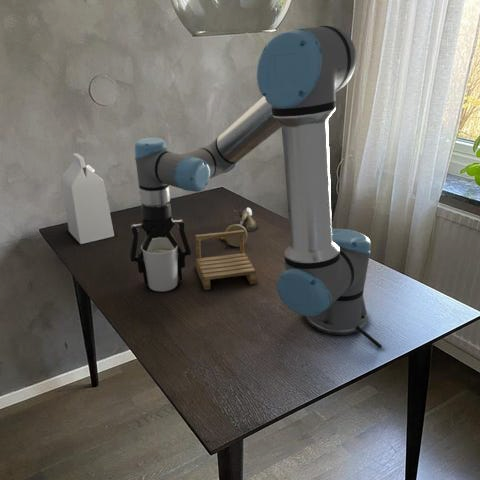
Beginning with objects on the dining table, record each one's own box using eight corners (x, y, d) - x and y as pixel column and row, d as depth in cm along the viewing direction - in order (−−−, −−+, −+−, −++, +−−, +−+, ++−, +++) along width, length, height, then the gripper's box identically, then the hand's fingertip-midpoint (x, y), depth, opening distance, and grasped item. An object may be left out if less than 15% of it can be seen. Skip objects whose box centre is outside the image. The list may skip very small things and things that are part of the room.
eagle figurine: (227, 220, 178) (237, 225, 170) (236, 201, 177) (246, 205, 169) (245, 229, 182) (255, 234, 174) (254, 210, 181) (264, 215, 173)
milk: (68, 231, 172) (53, 153, 158) (101, 224, 178) (89, 148, 163) (80, 244, 164) (65, 163, 150) (114, 236, 169) (103, 157, 155)
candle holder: (139, 289, 140) (134, 250, 133) (155, 273, 148) (151, 235, 141) (171, 295, 138) (168, 255, 131) (186, 278, 145) (183, 240, 139)
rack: (255, 283, 143) (256, 248, 137) (204, 290, 140) (203, 254, 134) (243, 262, 154) (244, 229, 148) (196, 268, 151) (194, 234, 145)
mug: (243, 234, 171) (251, 215, 163) (240, 257, 166) (248, 239, 158) (221, 229, 170) (228, 210, 161) (218, 252, 165) (225, 234, 157)
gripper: (194, 193, 135) (198, 269, 147) (111, 201, 130) (122, 278, 143) (200, 203, 129) (203, 281, 141) (113, 211, 124) (124, 291, 137)
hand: (163, 279), depth 142 cm, fingers closed on candle holder, 9 cm apart
